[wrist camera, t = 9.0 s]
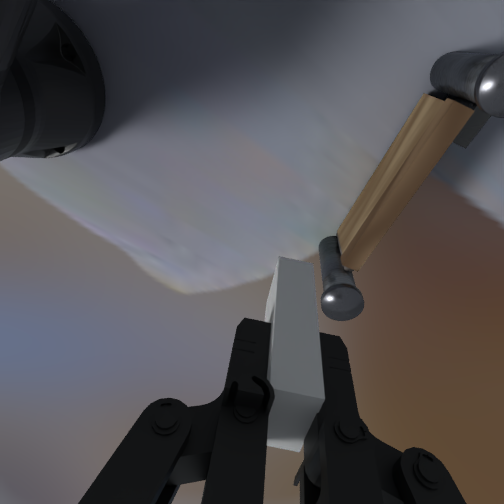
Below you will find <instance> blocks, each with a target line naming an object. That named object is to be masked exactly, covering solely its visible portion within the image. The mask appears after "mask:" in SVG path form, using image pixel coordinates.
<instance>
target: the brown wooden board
mask: <svg viewBox="0 0 504 504" xmlns="http://www.w3.org/2000/svg"><path fill="white" fill-rule="evenodd" d="M473 113H474V110H472V109H470V108H468V107H466V106H464V105H462V104H460V103H458V102H456V101H454V100H451V99H448V98H447V99H446V100H445V101H443V100H440V99H438V98H435V97H432V96H430V95H427V94H425V93H424V94H423V96H422V97H421V99H420V100H419V102H418V104H417V105H416V107H415V108H414V110H413V111H412V113H411V115H410V116H409V118H408V119H407V121H406V123H405V124H404V126H403V127H402V129H401V131H400V132H399V134H398V135H397V137H396V138H395V140H394V142H393V143H392V145H391V146H390V148H389V150H388V151H387V153H386V154H385V156H384V157H383V159H382V161H381V162H380V164H379V165H378V167H377V169H376V170H375V172H374V173H373V175H372V176H371V178H370V180H369V181H368V183H367V184H366V186H365V188H364V189H363V191H362V192H361V194H360V196H359V197H358V199H357V200H356V202H355V203H354V205H353V207H352V208H351V210H350V211H349V213H348V215H347V216H346V218H345V219H344V221H343V222H342V224H341V226H340V227H339V229H338V230H337V239H338V243H339V248H340V252H341V257H340V258H341V263H342V265H343V266H344V269H345V270H346V271H347V272H352V271H354V270H355V271H357V272H358V271H359V270H360V268H361V267H362V265H363V264H364V263H365V261H366V260H367V259H368V257H369V256H370V254H371V253H372V252H373V250H374V249H375V247H376V246H377V245H378V243H379V242H380V241H381V239H382V238H383V236H384V235H385V234H386V232H387V231H388V230H389V228H390V227H391V226H392V224H393V223H394V221H395V220H396V218H397V217H398V216H399V215H400V213H401V212H402V210H403V209H404V208H405V206H406V205H407V204H408V202H409V201H410V199H411V198H412V197H413V195H414V194H415V193H416V191H417V190H418V188H419V187H420V185H421V184H422V183H423V181H424V180H425V179H426V177H427V176H428V175H429V173H430V172H431V170H432V169H433V168H434V166H435V165H436V164H437V162H438V161H439V159H440V158H441V157H442V155H443V154H444V153H445V151H446V150H447V148H448V147H449V146H450V144H451V143H452V142H453V140H454V139H455V137H456V136H457V135H458V133H459V132H460V131H461V129H462V128H463V126H464V125H465V124H466V122H467V121H468V120H469V118H470V117H471V115H472V114H473Z"/></svg>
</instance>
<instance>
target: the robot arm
mask: <svg viewBox="0 0 504 504" xmlns="http://www.w3.org/2000/svg"><path fill="white" fill-rule="evenodd" d="M104 108H105V89H104V82H103V77H102V74H101V70H100V67H99V64H98V61H97V59H96V57H95V54H94V52H93V50H92V48H91V47H90V45H89V43H88V41H87V40H86V38H85V37H84V35H83V34H82V32H81V31H80V30H79V28H78V27H77V26H76V25H75V24H74V22H73V21H72V20H71V19H70V18H69V17H68V16H67V15H66V14H65V13H64V12H63V11H62V10H60V9H59V8H58V7H57V6H56V5H54V4H53V3H51V2H50V1H48V0H0V161H2V160H4V159H6V158H9V157H29V158H53V157H58V156H62V155H65V154H68V153H70V152H72V151H74V150H76V149H78V148H80V147H82V146H83V145H85V144H86V143H87V142H89V141H90V140H91V139H92V137H93V136H94V135H95V133H96V132H97V130H98V128H99V126H100V124H101V121H102V118H103V114H104ZM303 444H304V460H303V462H302V464H301V466H300V468H299V470H298V472H297V474H296V476H295V480H294V485H295V486H297V485H298V483H299V481H300V504H466V502H465V500H464V499H463V497H462V495H461V493H460V492H459V490H458V488H457V486H456V484H455V482H454V481H453V479H452V477H451V475H450V474H449V472H448V470H447V469H446V468H445V466H444V465H443V464H442V462H441V461H440V460H438V459H437V458H436V457H435V456H434V455H433V454H432V453H430V452H428V451H426V450H424V449H421V448H415V447H412V448H409V449H406V450H405V451H404V453H402V452H401V451H399V450H397V449H395V448H393V447H391V446H389V445H387V444H386V443H384V442H382V441H380V440H379V439H377V438H376V437H374V436H373V435H372V434H371V433H370V432H369V430H368V427H367V426H366V424H365V423H364V422H363V421H362V419H360V416H359V413H358V408H357V403H356V397H355V391H354V385H353V380H352V374H351V368H350V363H349V358H348V351H347V348H346V346H345V344H344V343H343V341H342V339H341V338H340V336H335V335H330V334H326V333H320V332H319V325H318V313H317V302H316V290H315V279H314V268H313V263H309V262H304V261H299V260H294V259H289V258H284V257H280V256H279V258H278V262H277V266H276V270H275V273H274V277H273V281H272V285H271V289H270V292H269V297H268V300H267V304H266V313H265V322H263V321H258V320H254V319H248V318H244V319H243V320H242V321H241V323H240V324H239V325H238V326H237V329H236V334H235V339H234V343H233V348H232V353H231V358H230V363H229V368H228V373H227V378H226V382H225V387H224V390H223V392H222V393H221V395H220V396H219V397H218V398H217V399H216V400H214V401H212V402H211V403H208V404H205V405H200V406H192V407H187V405H185V404H184V403H182V402H181V401H180V400H177V399H173V398H164V399H159V400H157V401H155V402H153V403H151V404H150V405H149V406H148V407H147V408H146V409H145V410H144V411H143V412H142V414H141V415H140V417H139V418H138V419H137V421H136V422H135V424H134V425H133V426H132V428H131V430H130V431H129V432H128V434H127V435H126V436H125V438H124V439H123V441H122V442H121V444H120V445H119V446H118V448H117V449H116V451H115V452H114V454H113V455H112V456H111V458H110V459H109V461H108V462H107V463H106V465H105V466H104V468H103V469H102V470H101V472H100V473H99V475H98V476H97V478H96V479H95V481H94V482H93V483H92V485H91V486H90V488H89V489H88V491H87V492H86V493H85V495H84V496H83V497H82V499H81V500H80V502H79V503H78V504H171V503H172V501H173V499H174V497H175V495H176V493H177V491H178V489H179V487H180V485H181V484H186V483H191V482H197V481H202V480H206V482H205V487H204V492H203V497H202V502H201V504H263V495H264V480H265V464H266V449H267V446H272V447H277V448H281V449H286V450H291V451H296V452H300V450H301V448H302V446H303Z"/></svg>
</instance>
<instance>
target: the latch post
mask: <svg viewBox="0 0 504 504" xmlns="http://www.w3.org/2000/svg"><path fill="white" fill-rule="evenodd" d="M430 81H431V84H432V86H433V87H434V88H435V89H436V90H438V91H441V92H444V93H447V94H449V95H448V96H447V98H448V99H451V100H454V101H456V102H458V103H460V104H462V105H464V106H466V107H468V108H470V109H472V110H474V113H473V114H472V115H471V117H470V118H469V120H468V121H467V122H466V124H465V125H464V126H463V128H462V129H461V131H460V132H459V133H458V135H457V136H456V137H455V139H454V140H453V142H454V143H456V144H458V145H460V146H462V147H464V148H467V146H468V145H469V144H470V142H471V141H472V140H473V139H474V137H475V136H476V135H477V133H478V132H479V131H480V130H481V128H482V127H483V126H484V124H485V123H486V122H487V121H488V119H489V118H490V117H491V116H494V117H500V118H504V52H502V53H501V54H482V53H465V52H450V53H447V54H445V55H443V56H441V57H440V58H439V59H438V60H437V61H436V62H435V64H434V65H433V67H432V69H431V73H430ZM447 98H446V99H447ZM446 99H445V100H446Z"/></svg>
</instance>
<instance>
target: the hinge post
mask: <svg viewBox="0 0 504 504" xmlns="http://www.w3.org/2000/svg"><path fill="white" fill-rule="evenodd" d="M319 256H320V264H321V273H322V281H323V289H324V292H323V294H322V296H321V308H322V311H323V312H324V314H325V315H326V316H327V317H329V318H331V319H333V320H337V321H346V320H350V319H353V318H355V317H357V316H358V315H359V314H360V313H361V312H362V310H363V308H364V300H363V296H362V293H361V292H360V290H359V289H358V288H356V286H355V282H354V278H353V274H352V272H347V271H346V270H345V269H344V266H343V265H342V263H341V258H340V257H341V252H340V248H339V243H338V239H337V237H335V236H330V237H327V238H325V239H323V240H322V241H321V242H320V244H319Z"/></svg>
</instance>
